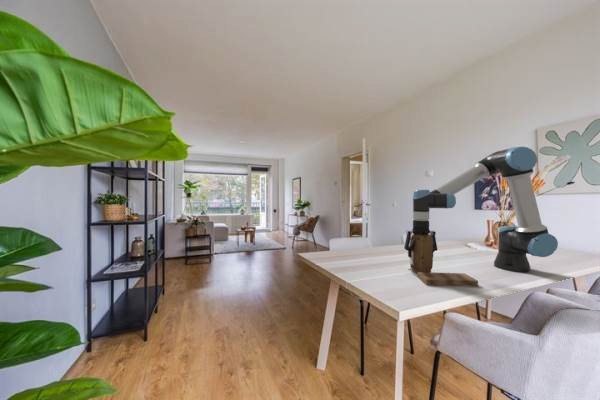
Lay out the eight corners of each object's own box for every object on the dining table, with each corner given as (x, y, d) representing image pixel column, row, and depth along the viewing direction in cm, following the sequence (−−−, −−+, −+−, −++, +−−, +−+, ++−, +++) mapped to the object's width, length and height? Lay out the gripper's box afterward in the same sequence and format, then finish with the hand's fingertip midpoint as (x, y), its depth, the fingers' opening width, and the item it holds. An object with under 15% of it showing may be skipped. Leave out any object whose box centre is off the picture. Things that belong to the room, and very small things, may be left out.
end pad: (425, 269, 131) (425, 269, 131) (435, 277, 119) (435, 276, 119) (407, 269, 132) (407, 268, 132) (416, 276, 120) (416, 276, 120)
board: (464, 278, 118) (464, 273, 118) (477, 286, 108) (477, 280, 108) (417, 277, 119) (417, 271, 119) (426, 284, 109) (426, 279, 109)
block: (434, 275, 121) (434, 235, 120) (420, 276, 120) (420, 235, 119) (420, 268, 131) (420, 231, 131) (407, 269, 130) (407, 231, 130)
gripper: (438, 219, 128) (438, 262, 128) (397, 218, 129) (397, 261, 130) (446, 220, 120) (445, 266, 121) (402, 220, 122) (401, 265, 122)
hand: (420, 263), depth 125 cm, fingers closed on block, 8 cm apart
